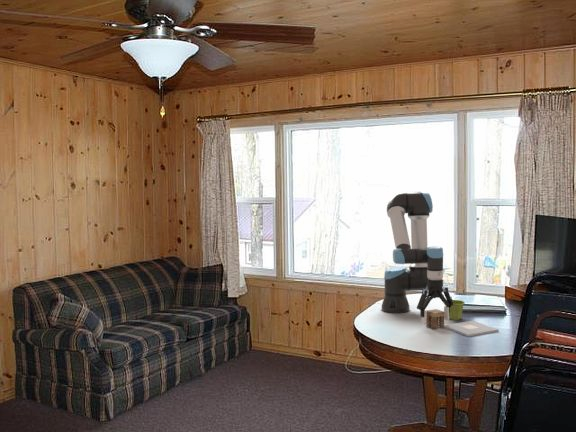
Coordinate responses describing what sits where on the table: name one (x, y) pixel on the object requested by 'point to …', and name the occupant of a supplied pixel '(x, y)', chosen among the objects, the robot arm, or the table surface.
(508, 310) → the table surface
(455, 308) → the plant pot
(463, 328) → the mat
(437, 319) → the notched wooden block
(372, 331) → the table surface
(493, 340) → the table surface
